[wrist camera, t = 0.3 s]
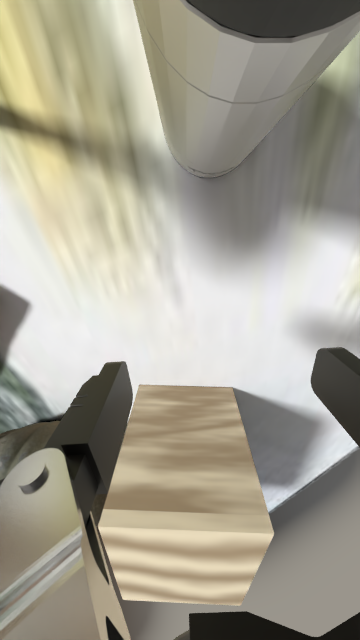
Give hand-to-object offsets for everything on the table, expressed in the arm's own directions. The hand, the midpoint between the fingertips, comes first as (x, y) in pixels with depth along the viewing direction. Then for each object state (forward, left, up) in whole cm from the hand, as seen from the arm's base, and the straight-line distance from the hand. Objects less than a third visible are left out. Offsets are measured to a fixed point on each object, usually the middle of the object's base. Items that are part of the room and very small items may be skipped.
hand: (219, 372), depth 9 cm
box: (+28, 0, -18) cm, 34 cm away
